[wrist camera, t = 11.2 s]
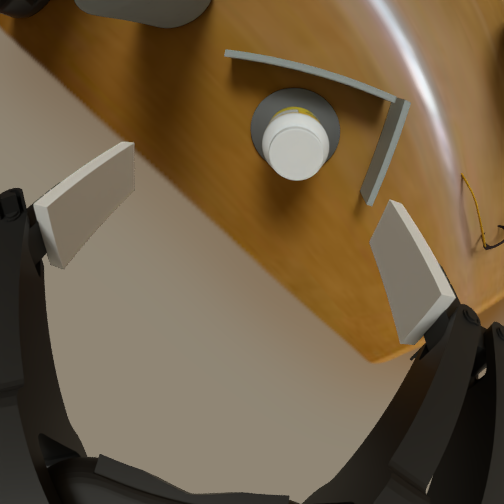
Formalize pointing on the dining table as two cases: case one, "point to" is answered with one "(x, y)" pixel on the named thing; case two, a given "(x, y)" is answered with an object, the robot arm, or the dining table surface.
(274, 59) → the fence long
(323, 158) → the pill bottle
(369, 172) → the fence end
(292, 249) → the dining table surface
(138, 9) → the water bottle
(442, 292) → the robot arm
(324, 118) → the coaster
